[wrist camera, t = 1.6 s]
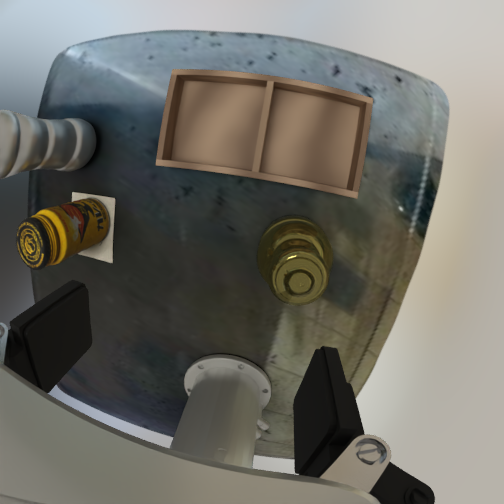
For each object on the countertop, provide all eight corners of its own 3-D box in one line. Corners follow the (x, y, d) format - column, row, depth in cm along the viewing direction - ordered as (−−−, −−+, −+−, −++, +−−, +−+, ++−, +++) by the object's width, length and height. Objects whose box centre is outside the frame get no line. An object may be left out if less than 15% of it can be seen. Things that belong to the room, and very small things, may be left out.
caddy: (363, 105, 25) (373, 98, 22) (348, 195, 29) (356, 198, 25) (183, 78, 26) (172, 69, 23) (168, 165, 29) (155, 165, 26)
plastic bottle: (59, 153, 30) (-63, 166, 11) (83, 110, 28) (-43, 96, 9) (85, 180, 31) (-46, 208, 11) (112, 136, 29) (-27, 130, 10)
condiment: (115, 197, 31) (49, 216, 20) (113, 262, 34) (55, 302, 22) (73, 191, 31) (7, 207, 20) (72, 251, 34) (14, 283, 22)
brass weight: (285, 200, 29) (289, 215, 20) (339, 240, 30) (365, 273, 21) (246, 254, 32) (232, 292, 22) (299, 290, 32) (306, 339, 23)
